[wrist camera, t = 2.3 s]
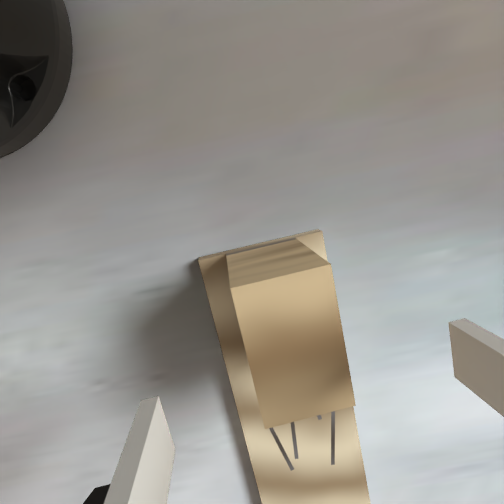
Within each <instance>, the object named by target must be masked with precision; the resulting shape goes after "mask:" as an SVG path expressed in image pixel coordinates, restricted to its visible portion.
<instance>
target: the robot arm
mask: <svg viewBox="0 0 504 504" xmlns="http://www.w3.org/2000/svg"><path fill="white" fill-rule="evenodd" d="M71 66H72V36H71V28H70V23H69V18H68V14H67V10H66V7H65V4H64V1H63V0H0V157H1V156H4V155H7V154H9V153H11V152H14V151H15V150H17V149H19V148H21V147H22V146H24V145H26V144H27V143H29V142H30V141H31V140H32V139H34V138H35V137H36V136H37V135H38V134H39V133H40V132H41V131H42V130H43V129H44V128H45V127H46V126H47V125H48V123H49V122H50V121H51V119H52V118H53V116H54V115H55V113H56V112H57V110H58V108H59V106H60V104H61V102H62V100H63V98H64V95H65V92H66V89H67V86H68V82H69V78H70V73H71ZM449 331H450V340H451V349H452V358H453V367H454V376H455V378H457V379H458V380H459V381H460V382H462V383H463V384H464V385H465V386H466V387H468V388H469V389H470V390H471V391H473V392H474V393H475V394H476V395H477V396H479V397H480V398H481V399H482V400H484V401H485V402H486V403H487V404H489V405H490V406H491V407H492V408H493V409H495V410H496V411H497V412H498V413H500V414H501V415H502V416H503V417H504V339H502V338H500V337H498V336H497V335H495V334H493V333H491V332H489V331H487V330H486V329H484V328H482V327H480V326H478V325H476V324H475V323H473V322H471V321H469V320H467V319H465V318H464V319H460V320H456V321H452V322H449ZM174 456H175V447H174V444H173V440H172V437H171V434H170V431H169V428H168V424H167V421H166V418H165V415H164V412H163V408H162V405H161V402H160V399H159V396H156V397H152V398H148V399H144V400H141V402H140V404H139V407H138V410H137V413H136V415H135V418H134V421H133V424H132V427H131V429H130V432H129V435H128V438H127V440H126V443H125V446H124V449H123V451H122V454H121V457H120V460H119V462H118V465H117V468H116V471H115V473H114V476H113V479H112V482H111V484H109V485H105V486H101V487H97V488H95V489H94V490H93V491H92V493H91V494H90V495H89V497H88V498H87V499H86V500H85V502H84V503H83V504H167V498H168V492H169V486H170V480H171V474H172V468H173V462H174Z"/></svg>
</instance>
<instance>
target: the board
mask: <svg viewBox="0 0 504 504" xmlns="http://www.w3.org/2000/svg"><path fill="white" fill-rule="evenodd" d="M291 238H296V239H298V240H299V241H300V242H302V243H303V244H304V245H306V246H307V247H308V248H310V249H311V250H312V251H314V252H315V253H316V254H318V255H319V256H320V257H322V258H323V259H324V260H326V261H327V256H326V250H325V245H324V239H323V233H322V231H321V230H319V229H317V230H313V231H309V232H304V233H300V234H296V235H292V236H287V237H283V238H279V239H275V240H270V241H266V242H262V243H258V244H253V245H249V246H245V247H241V248H237V249H232V250H228V251H224V252H220V253H215V254H211V255H207V256H203V257H199V259H198V262H199V266H200V269H201V273H202V277H203V281H204V285H205V288H206V292H207V296H208V300H209V304H210V307H211V311H212V315H213V319H214V323H215V327H216V330H217V334H218V338H219V342H220V346H221V349H222V353H223V357H224V361H225V365H226V368H227V372H228V376H229V380H230V384H231V387H232V391H233V395H234V399H235V403H236V407H237V410H238V414H239V418H240V422H241V426H242V429H243V433H244V437H245V441H246V445H247V448H248V452H249V456H250V460H251V464H252V467H253V471H254V475H255V479H256V483H257V486H258V490H259V494H260V498H261V502H262V504H370V499H369V493H368V487H367V482H366V476H365V470H364V465H363V459H362V453H361V448H360V442H359V436H358V431H357V425H356V420H355V414H354V408H353V406H352V407H348V408H344V409H340V410H336V411H333V412H329V413H325V414H321V415H318V416H314V417H310V418H306V419H302V420H299V421H295V422H291V423H287V424H283V425H280V426H276V427H272V428H268V429H265V428H264V424H263V420H262V416H261V412H260V407H259V403H258V399H257V395H256V391H255V387H254V383H253V379H252V375H251V371H250V367H249V363H248V359H247V355H246V350H245V346H244V342H243V338H242V334H241V330H240V326H239V322H238V318H237V314H236V310H235V306H234V302H233V298H232V294H231V289H230V282H229V274H228V266H227V257H226V254H228V253H232V252H236V251H240V250H245V249H249V248H253V247H257V246H262V245H266V244H270V243H274V242H278V241H283V240H287V239H291ZM327 262H328V261H327Z"/></svg>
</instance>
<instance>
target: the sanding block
mask: <svg viewBox="0 0 504 504" xmlns="http://www.w3.org/2000/svg"><path fill="white" fill-rule="evenodd" d="M226 257H227V266H228V274H229V282H230V289H231V294H232V298H233V302H234V306H235V310H236V314H237V318H238V322H239V326H240V330H241V334H242V338H243V342H244V346H245V350H246V355H247V359H248V363H249V367H250V371H251V375H252V379H253V383H254V387H255V391H256V395H257V399H258V403H259V407H260V412H261V416H262V420H263V424H264V428H265V429H268V428H272V427H276V426H280V425H283V424H287V423H291V422H295V421H299V420H302V419H306V418H310V417H314V416H318V415H321V414H325V413H329V412H333V411H336V410H340V409H344V408H348V407H352V406H355V399H354V394H353V388H352V382H351V376H350V371H349V365H348V359H347V354H346V348H345V342H344V337H343V331H342V325H341V319H340V314H339V308H338V302H337V297H336V291H335V285H334V279H333V274H332V268H331V264H330V263H329V262H327V261H326V260H324V259H323V258H322V257H320V256H319V255H318V254H316V253H315V252H314V251H312V250H311V249H310V248H308V247H307V246H306V245H304V244H303V243H302V242H300V241H299V240H298V239H296V238H291V239H287V240H283V241H278V242H274V243H270V244H266V245H262V246H257V247H253V248H249V249H245V250H240V251H236V252H232V253H228V254H226Z"/></svg>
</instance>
